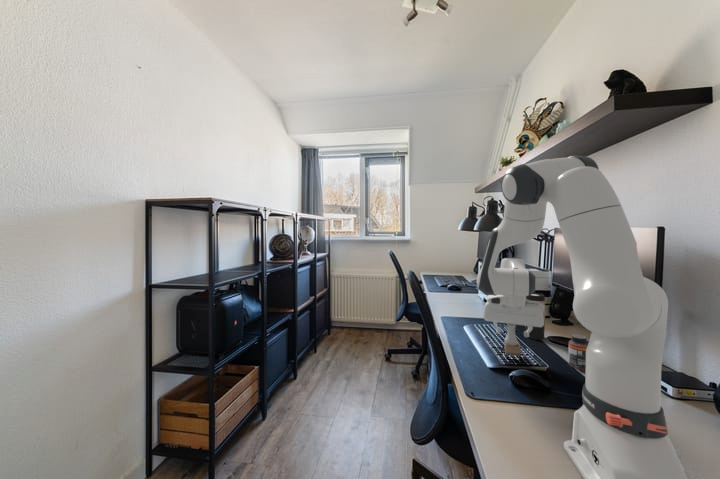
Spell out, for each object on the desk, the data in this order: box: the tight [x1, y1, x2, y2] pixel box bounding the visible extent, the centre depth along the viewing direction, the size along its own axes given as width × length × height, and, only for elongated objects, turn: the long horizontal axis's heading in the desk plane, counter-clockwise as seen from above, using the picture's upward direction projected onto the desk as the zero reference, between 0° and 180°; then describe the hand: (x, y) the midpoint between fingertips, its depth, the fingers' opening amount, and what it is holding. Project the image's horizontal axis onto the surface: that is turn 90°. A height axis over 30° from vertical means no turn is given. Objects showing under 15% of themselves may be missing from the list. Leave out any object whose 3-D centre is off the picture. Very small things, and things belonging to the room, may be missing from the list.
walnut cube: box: [503, 339, 522, 357], centre depth 102 cm, size 5×5×5 cm
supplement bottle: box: [568, 333, 589, 372], centre depth 94 cm, size 6×6×11 cm
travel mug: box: [525, 292, 546, 341], centre depth 122 cm, size 8×8×20 cm
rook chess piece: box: [504, 323, 519, 346], centre depth 102 cm, size 4×4×8 cm
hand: (512, 334), depth 102 cm, fingers open, 8 cm apart
